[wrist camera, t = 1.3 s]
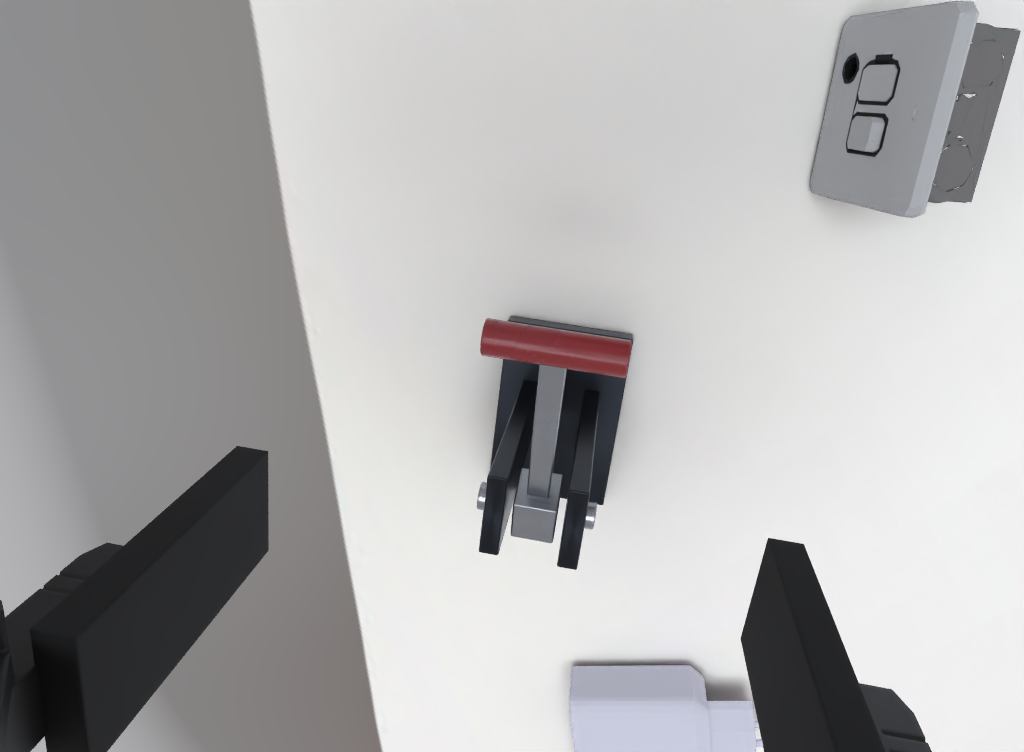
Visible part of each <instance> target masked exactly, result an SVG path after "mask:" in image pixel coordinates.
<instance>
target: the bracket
mask: <svg viewBox="0 0 1024 752" xmlns="http://www.w3.org/2000/svg"><path fill="white" fill-rule="evenodd" d="M508 321H509V322H515V323H522V324H528V325H535V326H541V327H548V328H554V329H561V330H567V331H574V332H580V333H587V334H593V335H600V336H606V337H612V338H619V339H625V340H631V342H632V344H633V335H632V334H626V333H620V332H613V331H607V330H600V329H594V328H587V327H581V326H574V325H568V324H561V323H555V322H548V321H541V320H535V319H528V318H522V317H515V316H510V318H509V320H508ZM632 344H631V349H632ZM630 355H631V353H630ZM629 360H630V359H629ZM628 366H629V365H628ZM539 367H540V365H539V364H532V363H526V362H520V361H513V360H507V359H503V366H502V375H501V383H500V391H499V400H498V408H497V417H496V425H495V433H494V442H493V450H492V459H491V467H490V472H489V474H488V478H487V483H485V482H482V483H481V486H480V490H479V494H478V501H477V509H480V510H484V512H483V520H482V529H481V537H480V546H479V552H482V553H488V554H493V555H498V553H499V550H500V546H501V543H502V539H503V536H504V532H505V529H506V525H507V522H508V518H509V515H510V512H511V508H512V505H513V501H514V498H515V494H516V489H517V485H518V480H519V476H520V471H521V469H522V468H526V469H529V466H530V456H531V446H532V436H533V426H534V416H535V406H536V396H537V386H538V376H539ZM627 371H628V370H627ZM626 377H627V375H626ZM626 377H625V378H620V377H614V376H608V375H602V374H595V373H589V372H583V371H576V370H570V369H567V370H566V377H565V385H564V392H563V399H562V407H561V414H560V421H559V429H558V436H557V443H556V451H555V458H554V465H553V472H552V473H555V474H561V475H563V482H562V488H561V495H560V498H565V499H567V504H566V510H565V517H564V524H563V530H562V537H561V543H560V550H559V556H558V563H557V566H558V567H564V568H569V569H575V570H576V569H577V565H578V560H579V554H580V548H581V542H582V537H583V531H584V528H586V529H593V527H594V522H595V516H596V508H597V504H599V505H603V503H604V497H605V492H606V486H607V481H608V475H609V470H610V464H611V459H612V453H613V448H614V442H615V437H616V431H617V426H618V420H619V415H620V409H621V404H622V399H623V393H624V388H625V382H626Z"/></svg>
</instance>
